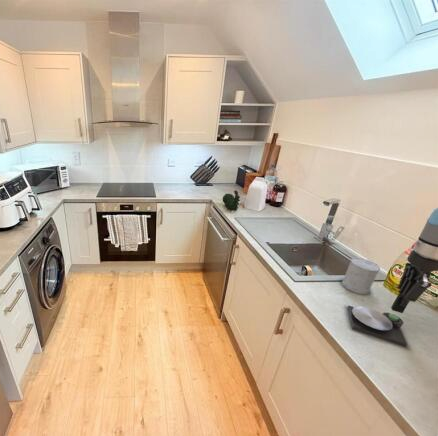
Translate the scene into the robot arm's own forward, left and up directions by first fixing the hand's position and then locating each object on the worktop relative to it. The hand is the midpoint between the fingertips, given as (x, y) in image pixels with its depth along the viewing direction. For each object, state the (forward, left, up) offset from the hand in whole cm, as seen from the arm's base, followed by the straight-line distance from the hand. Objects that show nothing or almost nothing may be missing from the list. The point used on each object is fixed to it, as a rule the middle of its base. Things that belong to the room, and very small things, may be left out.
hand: (396, 310), depth 85 cm
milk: (+62, -103, -7) cm, 120 cm away
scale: (+5, +4, -7) cm, 9 cm away
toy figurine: (+80, -91, -7) cm, 121 cm away
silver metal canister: (+7, -20, -7) cm, 22 cm away
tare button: (0, 0, -4) cm, 4 cm away
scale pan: (+7, +4, -4) cm, 9 cm away
